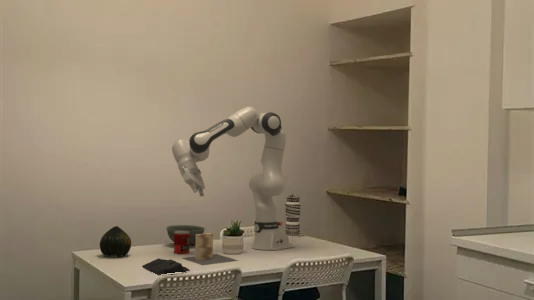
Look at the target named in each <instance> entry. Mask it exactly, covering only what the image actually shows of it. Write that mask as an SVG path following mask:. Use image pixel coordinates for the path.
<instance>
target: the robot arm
mask: <svg viewBox="0 0 534 300" xmlns="http://www.w3.org/2000/svg"><path fill="white" fill-rule="evenodd" d="M249 129H251V130H252V131H253V132H254V133H256V134H263V135H264V139H265V140H264V145H263V150H262V154H261V159H260V163H261V165H262V171H263V173H257V174H254V175H252V176H251V177H250V178H249V180H248V187H249V189H250V190H251V193H252V196H253V200H254V206H255V220H254V238H253V243H252V246H251V248H252V249H255V250H261V251H262V250H264V251H279V250H284V249H290V248H294V244H292V243H290V237H288V236H287V234H285V233H286V232H284V231H283V230H282V229H281V228H279V227H282V226H283V225H284V224H283V222H282V221H277V205H276V204H275V202H274V198H273V197H276V196H279V195H282V193H283V192H284V190H285V187H286V186H285V182H284V180H283V177H282V176H283V175H282V163H283V159H284V154H285V149H286V142H287V141H286V140H287V138H286V136H287V135H286V133H285V132H284V131H283V130H282V129H283V128H282V120H281V117H280V116H279V115H278V114H277V113H275V112H272V111H270V112H268V111H267V112H260V113H259V112H258V111H257V110H256V109H255V108H254V107H253V106H251V105H250V106H245V107H243V108H241V109H239V110H237V111H235V112H234V113H232V114H231V115H229V116H228V117H227V118H225V119H222V120H221V121H219V122H216V123H215V124H214V125H212V126H211V127H209V128H207V129H205V130H201V131H197V132H195V133H193V134H192V135H191V136H190V137H189V140H186V139H183V138H181V139H178V140H177V141H175V142H174V143H173V144H172V147H171V151H172V154H173V157H174V161H175V162H176V163H177V166H178V167H177V168H178V170H179V173H180V175H181V177H182V178H183V181H184V183H185V184H187V185H189V187H190V188H191V190H192V193H199V197H201V198H202V197H204V196H205V193H204V190H205V189H206V185H205V183H204V178H203V177H202V171H201V170H200V168H199V166H198V165H197V163H199V162H203V161H205V160H206V159H208V157H209V156H210V146H211V144H212V142H214V141H216V140H217V139H219V138H221V136H224V135H226V134H227V135H228V136H229V137H231V138H235V137H238V136H240V135H242V134H243V133H245V132H247V131H248V130H249Z"/></svg>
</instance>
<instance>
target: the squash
mask: <svg viewBox="0 0 534 300" xmlns="http://www.w3.org/2000/svg"><path fill="white" fill-rule="evenodd" d="M99 248H100V249H99V250H100V252H101V254H102V255H103V256H105V257H112V256H116V257H117V258H121V257H124V256H126V255H128V253H130V250H131V248H132V240H131V237H130V236H129V234H128V233H127V232H125V231H124V230H123V229H122V228H121V227H120V226H118V225H115V226H113V227H111V228H110V229H109V230H107V231H106V232H105V233H104V234H103V236H102V237H101V239H100V241H99Z"/></svg>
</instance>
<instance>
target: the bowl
mask: <svg viewBox="0 0 534 300" xmlns="http://www.w3.org/2000/svg"><path fill="white" fill-rule="evenodd" d="M205 230H206V228H205V227H203V226H199V225H193V224H192V225H191V224H176V225H175V224H174V225H167V226H166V231H167V236H168V238H169V239H170V240H171V241H172V242H173V243H174V232H175V231H189V233H190V242H189V247H193V246H194V245H195V244H196V234H205V232H204V231H205Z"/></svg>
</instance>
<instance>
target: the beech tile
mask: <svg viewBox="0 0 534 300" xmlns="http://www.w3.org/2000/svg"><path fill="white" fill-rule="evenodd" d="M213 236H214V233H212V232H208V233H207V232H206V233H205V232H204V233H203V234H196V243H195V253H194V254H195V260H205V259H213V254H214V253H213V250H214V249H213V247H214V246H213V245H214V244H213V243H214V237H213Z"/></svg>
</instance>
